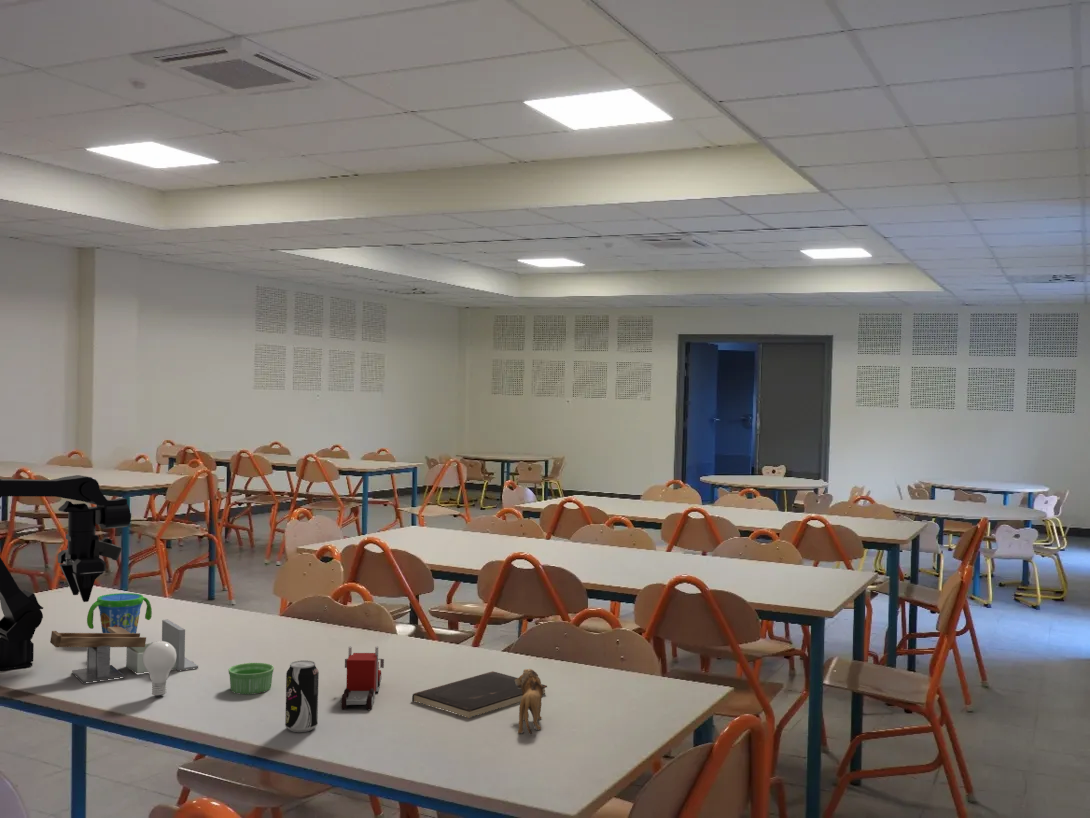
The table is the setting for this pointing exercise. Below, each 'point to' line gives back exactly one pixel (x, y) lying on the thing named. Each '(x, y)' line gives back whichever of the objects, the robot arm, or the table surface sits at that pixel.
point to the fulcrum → (98, 666)
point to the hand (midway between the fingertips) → (80, 598)
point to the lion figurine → (529, 699)
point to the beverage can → (302, 696)
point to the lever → (98, 639)
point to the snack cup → (119, 611)
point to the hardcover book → (473, 694)
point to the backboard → (177, 643)
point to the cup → (137, 659)
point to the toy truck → (362, 678)
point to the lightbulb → (159, 664)
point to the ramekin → (250, 678)
